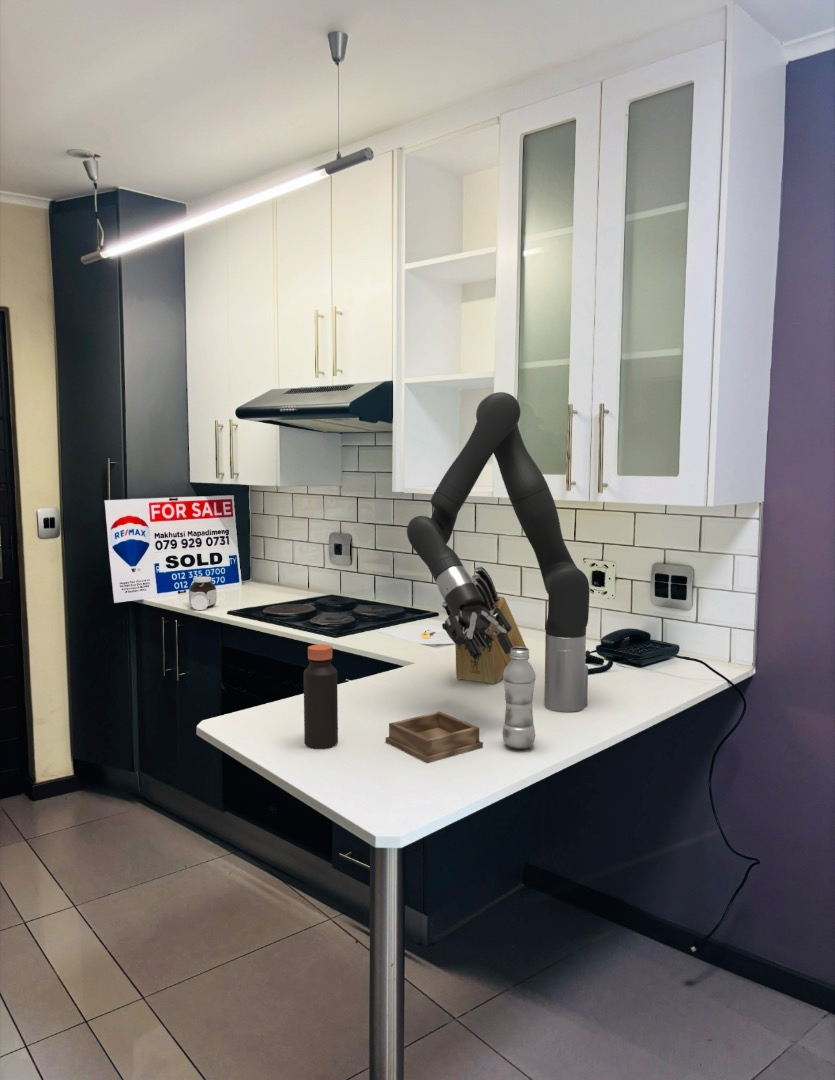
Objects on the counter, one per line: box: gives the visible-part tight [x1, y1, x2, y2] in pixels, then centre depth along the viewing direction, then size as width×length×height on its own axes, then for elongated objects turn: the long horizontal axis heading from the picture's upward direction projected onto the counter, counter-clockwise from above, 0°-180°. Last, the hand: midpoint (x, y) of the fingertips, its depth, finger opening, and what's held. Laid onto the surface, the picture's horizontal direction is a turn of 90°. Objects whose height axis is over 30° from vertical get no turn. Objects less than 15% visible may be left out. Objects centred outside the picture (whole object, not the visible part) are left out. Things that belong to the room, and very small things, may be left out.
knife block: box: [441, 565, 527, 685], centre depth 214 cm, size 11×35×31 cm, turn 152°
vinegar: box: [303, 644, 339, 750], centre depth 162 cm, size 7×7×20 cm
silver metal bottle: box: [501, 647, 537, 750], centre depth 161 cm, size 6×7×20 cm
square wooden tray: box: [385, 711, 484, 764], centre depth 162 cm, size 14×14×4 cm
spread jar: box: [188, 576, 218, 611], centre depth 311 cm, size 12×11×12 cm
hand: (494, 654), depth 166 cm, fingers open, 8 cm apart
